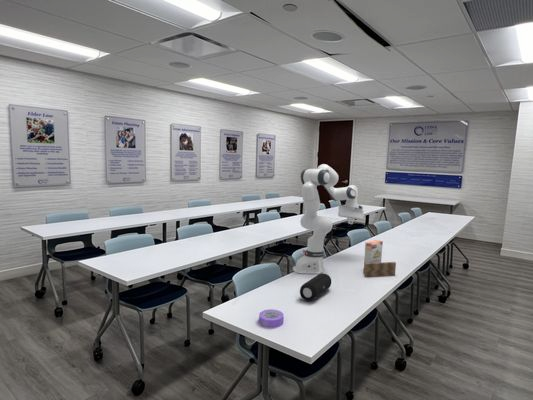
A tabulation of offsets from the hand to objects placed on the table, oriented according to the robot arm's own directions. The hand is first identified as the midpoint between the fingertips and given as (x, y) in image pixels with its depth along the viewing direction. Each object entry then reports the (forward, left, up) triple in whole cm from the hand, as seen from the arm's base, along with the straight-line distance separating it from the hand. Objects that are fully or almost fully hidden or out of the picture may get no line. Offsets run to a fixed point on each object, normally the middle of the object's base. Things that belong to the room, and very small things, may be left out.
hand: (350, 223), depth 261 cm
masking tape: (-81, -88, -30) cm, 123 cm away
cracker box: (+8, -22, -30) cm, 38 cm away
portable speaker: (-48, -59, -30) cm, 82 cm away
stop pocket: (+6, -32, -30) cm, 44 cm away
